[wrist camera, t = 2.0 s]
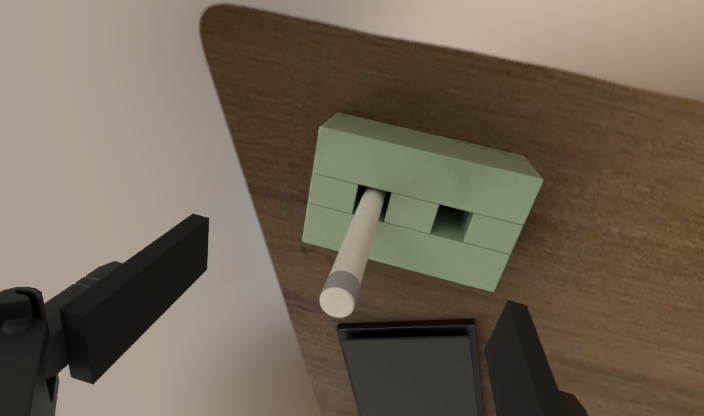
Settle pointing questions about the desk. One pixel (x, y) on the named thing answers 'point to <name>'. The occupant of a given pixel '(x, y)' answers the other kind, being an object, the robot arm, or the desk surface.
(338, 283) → the stylus
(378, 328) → the tablet
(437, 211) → the pen stand
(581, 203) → the desk surface
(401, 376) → the screen
